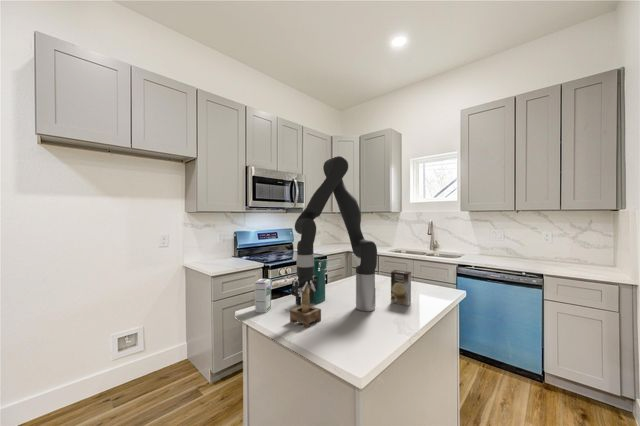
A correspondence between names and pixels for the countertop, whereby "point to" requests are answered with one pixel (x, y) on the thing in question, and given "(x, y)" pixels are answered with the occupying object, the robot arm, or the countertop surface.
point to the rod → (305, 300)
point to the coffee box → (401, 287)
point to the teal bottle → (319, 280)
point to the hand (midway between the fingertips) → (305, 302)
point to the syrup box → (262, 295)
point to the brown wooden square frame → (305, 315)
